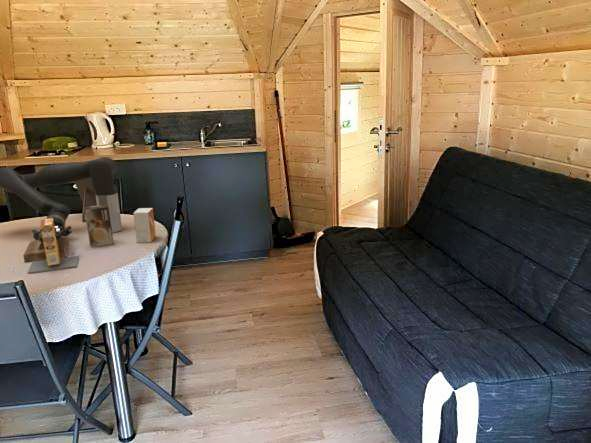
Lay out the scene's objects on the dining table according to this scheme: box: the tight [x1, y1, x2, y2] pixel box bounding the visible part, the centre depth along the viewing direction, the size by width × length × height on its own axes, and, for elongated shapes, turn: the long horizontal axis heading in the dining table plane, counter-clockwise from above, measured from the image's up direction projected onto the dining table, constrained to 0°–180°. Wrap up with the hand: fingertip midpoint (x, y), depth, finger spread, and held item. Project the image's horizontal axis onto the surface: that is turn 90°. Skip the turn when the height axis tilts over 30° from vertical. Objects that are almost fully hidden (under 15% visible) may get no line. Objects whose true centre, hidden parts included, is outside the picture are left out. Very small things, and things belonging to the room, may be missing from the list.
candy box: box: [40, 218, 60, 266], centre depth 175 cm, size 9×4×15 cm, turn 25°
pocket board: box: [23, 236, 70, 263], centre depth 191 cm, size 14×18×3 cm
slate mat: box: [27, 255, 80, 275], centre depth 177 cm, size 16×12×1 cm
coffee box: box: [84, 204, 115, 248], centre depth 198 cm, size 9×6×16 cm
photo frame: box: [74, 177, 97, 223], centre depth 239 cm, size 15×22×25 cm
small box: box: [132, 207, 157, 243], centre depth 203 cm, size 8×6×13 cm
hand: (49, 238), depth 173 cm, fingers closed on candy box, 4 cm apart
